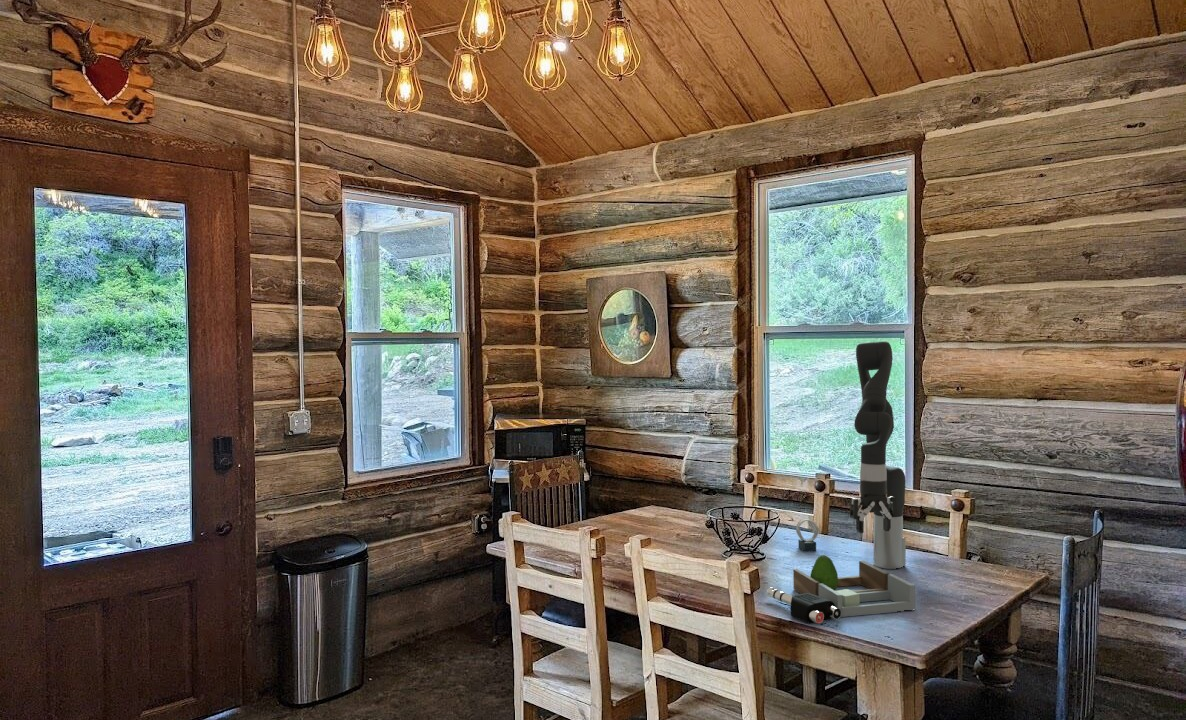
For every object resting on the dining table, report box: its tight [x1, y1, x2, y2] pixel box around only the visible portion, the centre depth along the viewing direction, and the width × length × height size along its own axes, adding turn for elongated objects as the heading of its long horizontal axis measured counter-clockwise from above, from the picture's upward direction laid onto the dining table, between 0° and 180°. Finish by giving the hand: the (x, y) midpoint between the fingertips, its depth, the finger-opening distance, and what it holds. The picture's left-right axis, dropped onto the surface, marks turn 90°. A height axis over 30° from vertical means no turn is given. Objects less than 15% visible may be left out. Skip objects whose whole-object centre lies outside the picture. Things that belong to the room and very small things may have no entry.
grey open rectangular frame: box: [818, 573, 916, 618], centre depth 229 cm, size 24×11×7 cm, turn 102°
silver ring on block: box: [795, 518, 820, 553], centre depth 293 cm, size 6×8×11 cm
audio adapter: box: [765, 587, 841, 625], centre depth 227 cm, size 11×5×25 cm
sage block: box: [835, 588, 861, 607], centre depth 228 cm, size 5×5×5 cm
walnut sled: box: [792, 560, 891, 596], centre depth 242 cm, size 24×14×7 cm, turn 102°
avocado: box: [809, 554, 839, 591], centre depth 241 cm, size 8×8×12 cm
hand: (873, 531), depth 244 cm, fingers open, 8 cm apart
